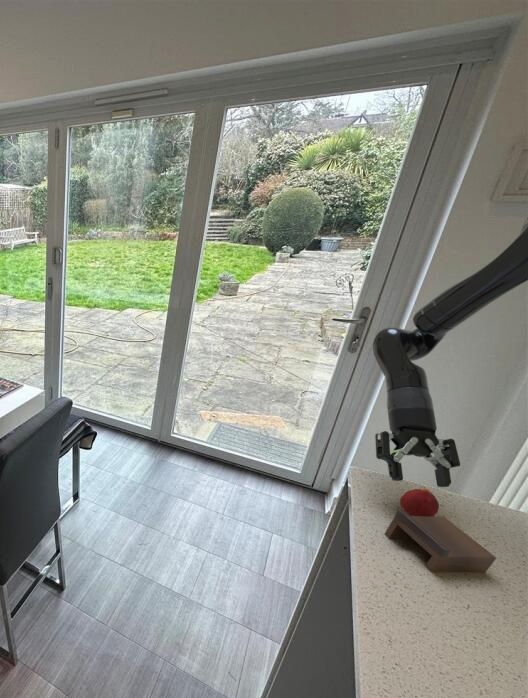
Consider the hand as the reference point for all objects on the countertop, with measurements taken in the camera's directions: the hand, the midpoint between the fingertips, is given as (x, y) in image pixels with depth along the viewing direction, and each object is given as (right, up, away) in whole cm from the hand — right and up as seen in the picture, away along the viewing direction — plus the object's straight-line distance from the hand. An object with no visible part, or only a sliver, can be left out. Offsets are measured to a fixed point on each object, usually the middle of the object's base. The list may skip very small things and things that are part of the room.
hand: (420, 483), depth 87 cm
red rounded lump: (-1, -8, +1) cm, 8 cm away
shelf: (-6, -12, -8) cm, 15 cm away
